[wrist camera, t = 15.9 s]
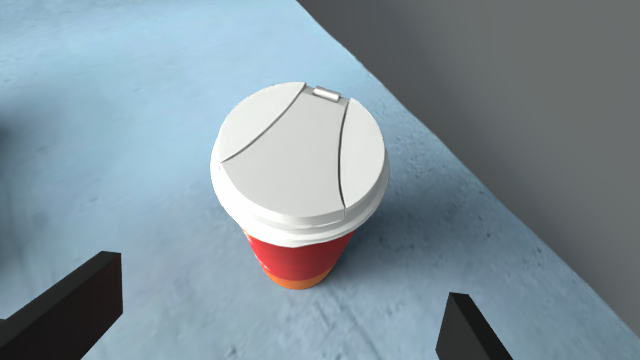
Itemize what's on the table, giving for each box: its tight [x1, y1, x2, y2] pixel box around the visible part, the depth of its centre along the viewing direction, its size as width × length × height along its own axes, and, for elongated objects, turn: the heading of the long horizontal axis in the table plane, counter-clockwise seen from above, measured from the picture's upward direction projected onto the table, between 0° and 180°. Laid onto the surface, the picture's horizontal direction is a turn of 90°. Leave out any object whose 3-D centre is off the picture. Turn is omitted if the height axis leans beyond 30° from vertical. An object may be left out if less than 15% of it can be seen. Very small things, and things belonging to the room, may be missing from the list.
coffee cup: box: [211, 82, 389, 289], centre depth 21 cm, size 8×8×15 cm
